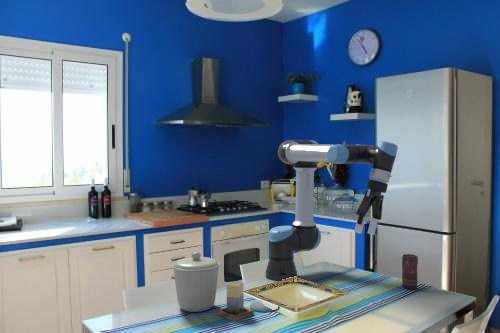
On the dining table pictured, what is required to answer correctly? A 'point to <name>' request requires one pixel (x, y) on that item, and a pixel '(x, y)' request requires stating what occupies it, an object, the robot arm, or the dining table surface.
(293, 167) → the robot arm
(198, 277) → the canister
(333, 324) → the dining table surface
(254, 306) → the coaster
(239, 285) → the yellow and grey cylinder
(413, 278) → the can
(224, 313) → the socket frame
